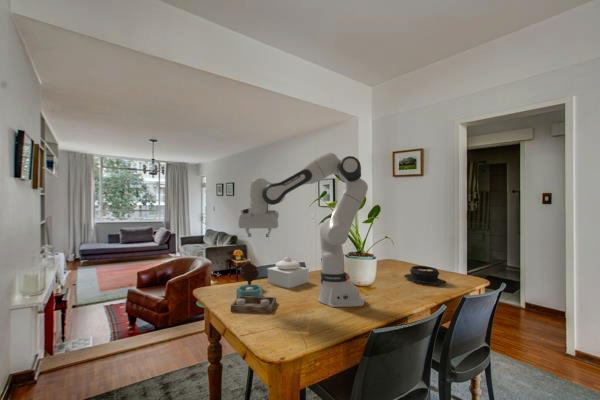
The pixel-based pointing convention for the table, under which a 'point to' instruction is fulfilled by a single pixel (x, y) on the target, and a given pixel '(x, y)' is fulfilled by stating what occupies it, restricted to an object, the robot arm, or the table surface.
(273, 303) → the tray
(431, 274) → the black hat
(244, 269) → the ice cream bowl
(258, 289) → the bowl
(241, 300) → the pebble
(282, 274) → the butter dish
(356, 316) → the table surface
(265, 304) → the pebble
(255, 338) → the table surface
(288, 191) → the robot arm
